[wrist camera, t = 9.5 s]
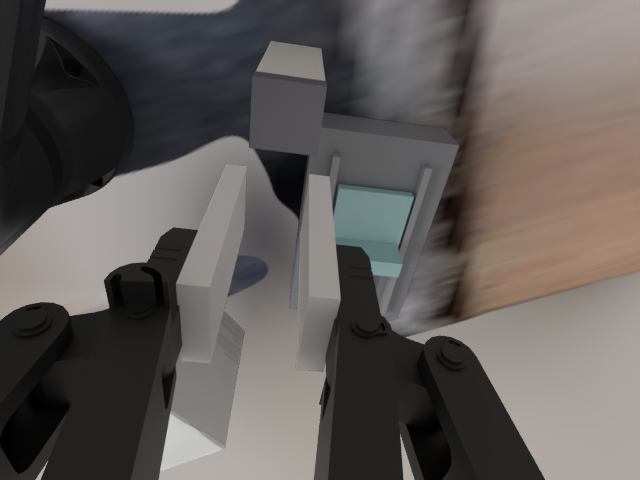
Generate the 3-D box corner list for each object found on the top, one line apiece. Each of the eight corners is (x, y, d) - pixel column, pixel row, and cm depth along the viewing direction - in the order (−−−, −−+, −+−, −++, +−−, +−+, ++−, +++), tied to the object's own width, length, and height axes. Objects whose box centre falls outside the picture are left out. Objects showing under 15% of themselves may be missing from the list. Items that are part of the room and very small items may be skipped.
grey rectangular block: (267, 93, 34) (248, 147, 24) (270, 40, 31) (252, 75, 21) (315, 99, 34) (317, 156, 24) (322, 47, 32) (327, 86, 22)
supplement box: (143, 314, 48) (85, 434, 36) (200, 285, 46) (160, 404, 34) (192, 355, 53) (156, 475, 41) (247, 332, 50) (227, 451, 38)
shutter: (327, 245, 38) (328, 270, 35) (338, 184, 34) (341, 206, 31) (393, 252, 38) (401, 277, 35) (411, 192, 35) (421, 215, 31)
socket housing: (290, 283, 46) (289, 313, 42) (313, 110, 35) (313, 129, 31) (392, 292, 47) (399, 323, 43) (445, 128, 36) (462, 149, 32)
